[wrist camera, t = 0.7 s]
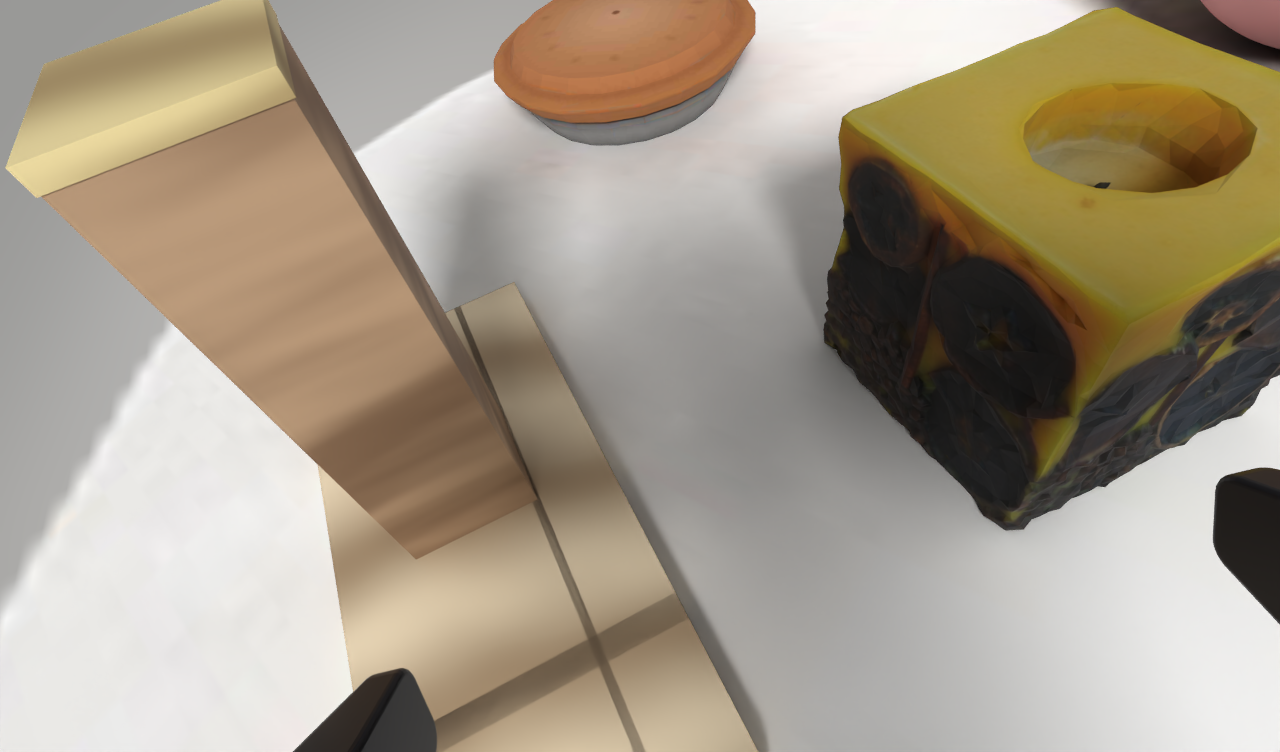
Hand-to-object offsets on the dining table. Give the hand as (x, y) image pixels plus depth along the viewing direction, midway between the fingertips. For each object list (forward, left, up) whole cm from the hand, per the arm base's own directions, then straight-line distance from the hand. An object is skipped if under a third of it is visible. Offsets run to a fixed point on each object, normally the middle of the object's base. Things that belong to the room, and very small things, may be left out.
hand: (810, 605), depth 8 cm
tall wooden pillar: (+6, +14, -13) cm, 19 cm away
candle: (+16, -4, -14) cm, 21 cm away
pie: (+34, +18, -14) cm, 41 cm away
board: (+4, +12, -14) cm, 19 cm away
